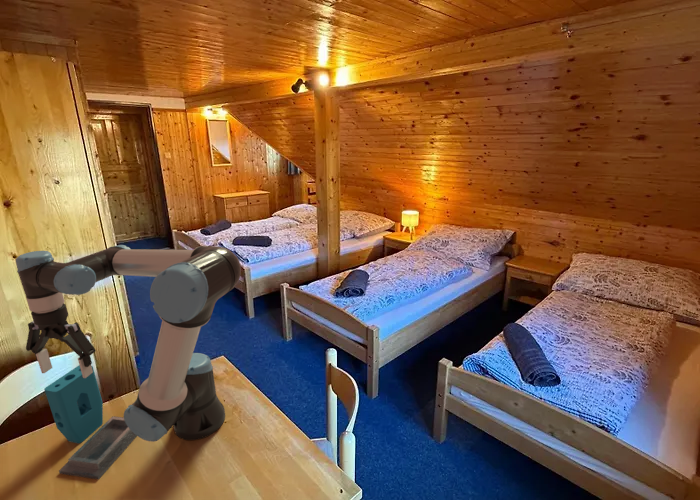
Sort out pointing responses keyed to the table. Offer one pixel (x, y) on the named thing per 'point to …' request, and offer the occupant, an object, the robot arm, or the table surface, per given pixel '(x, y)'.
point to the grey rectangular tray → (100, 450)
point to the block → (76, 405)
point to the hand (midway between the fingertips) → (67, 372)
